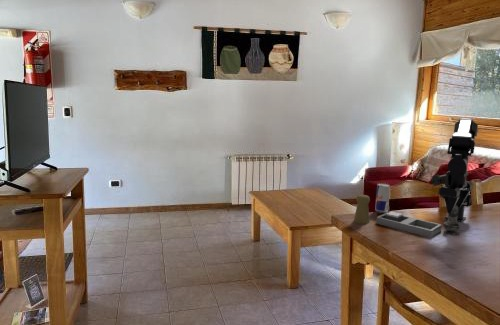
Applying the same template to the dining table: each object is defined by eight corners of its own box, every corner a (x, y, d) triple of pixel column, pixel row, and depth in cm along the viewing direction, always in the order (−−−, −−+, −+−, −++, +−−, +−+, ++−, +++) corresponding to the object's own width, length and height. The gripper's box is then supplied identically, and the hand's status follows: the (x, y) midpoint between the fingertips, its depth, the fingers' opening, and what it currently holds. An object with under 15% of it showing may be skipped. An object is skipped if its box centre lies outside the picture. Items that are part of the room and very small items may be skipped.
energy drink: (372, 210, 181) (374, 183, 179) (382, 209, 183) (384, 183, 181) (380, 214, 177) (382, 186, 174) (390, 212, 178) (392, 185, 176)
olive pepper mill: (372, 223, 164) (374, 196, 162) (359, 224, 162) (361, 197, 160) (363, 218, 170) (364, 192, 168) (350, 220, 168) (352, 194, 166)
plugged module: (390, 220, 167) (391, 211, 166) (402, 223, 164) (403, 213, 163) (384, 223, 164) (385, 213, 163) (397, 226, 160) (397, 216, 160)
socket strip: (387, 218, 171) (388, 212, 170) (441, 231, 156) (441, 224, 156) (376, 223, 164) (376, 217, 163) (430, 237, 149) (431, 230, 149)
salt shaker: (444, 229, 159) (448, 199, 156) (461, 232, 155) (465, 202, 153) (440, 233, 154) (443, 202, 152) (457, 237, 150) (461, 205, 148)
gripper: (444, 163, 162) (440, 201, 165) (425, 169, 149) (421, 210, 152) (475, 167, 155) (470, 207, 158) (458, 174, 141) (453, 217, 144)
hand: (453, 210), depth 153 cm, fingers open, 9 cm apart
